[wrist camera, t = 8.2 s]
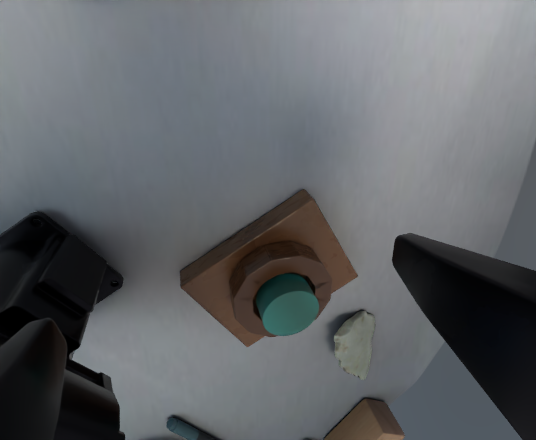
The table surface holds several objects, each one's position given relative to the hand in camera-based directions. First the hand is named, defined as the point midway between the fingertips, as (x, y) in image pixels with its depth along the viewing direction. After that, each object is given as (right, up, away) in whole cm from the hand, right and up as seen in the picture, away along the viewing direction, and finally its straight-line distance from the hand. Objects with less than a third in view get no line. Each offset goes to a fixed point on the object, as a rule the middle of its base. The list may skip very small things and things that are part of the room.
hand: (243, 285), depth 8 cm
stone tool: (+11, -9, +22) cm, 26 cm away
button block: (+1, -2, +15) cm, 15 cm away
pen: (+2, -25, +25) cm, 36 cm away
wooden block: (+9, -26, +28) cm, 40 cm away
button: (+2, -3, +12) cm, 13 cm away
